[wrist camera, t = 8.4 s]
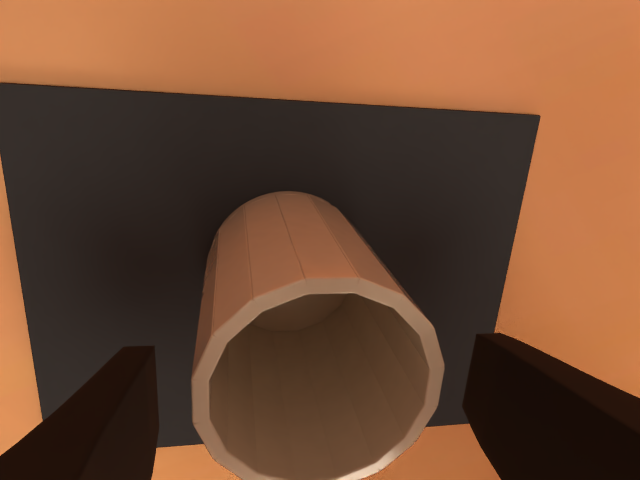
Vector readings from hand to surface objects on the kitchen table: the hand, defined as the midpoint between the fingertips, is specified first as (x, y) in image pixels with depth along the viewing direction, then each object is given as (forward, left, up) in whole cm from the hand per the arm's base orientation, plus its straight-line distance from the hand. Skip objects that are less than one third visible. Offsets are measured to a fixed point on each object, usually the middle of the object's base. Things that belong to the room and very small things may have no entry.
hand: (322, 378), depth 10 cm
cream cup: (0, 0, -6) cm, 6 cm away
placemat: (-1, 0, -7) cm, 7 cm away
